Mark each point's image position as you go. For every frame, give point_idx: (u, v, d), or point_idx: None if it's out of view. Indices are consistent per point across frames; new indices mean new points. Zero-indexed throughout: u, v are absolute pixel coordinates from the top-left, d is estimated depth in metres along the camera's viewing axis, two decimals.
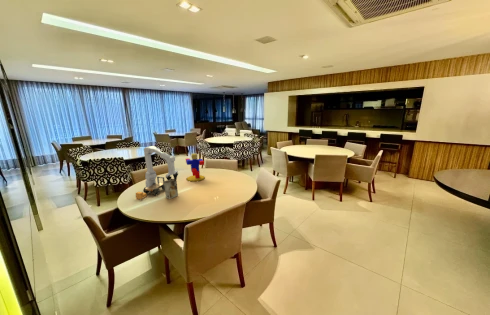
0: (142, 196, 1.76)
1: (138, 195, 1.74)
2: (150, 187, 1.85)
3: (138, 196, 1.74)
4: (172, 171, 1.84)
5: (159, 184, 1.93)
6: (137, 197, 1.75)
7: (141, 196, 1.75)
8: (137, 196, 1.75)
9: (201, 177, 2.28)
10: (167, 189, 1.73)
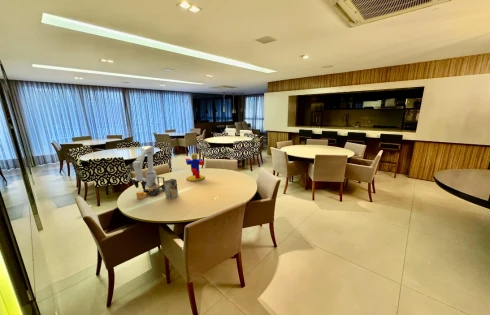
0: (143, 196, 1.76)
1: (139, 195, 1.74)
2: (150, 187, 1.85)
3: (139, 196, 1.75)
4: None
5: (159, 184, 1.93)
6: (138, 197, 1.75)
7: (142, 196, 1.75)
8: (138, 196, 1.75)
9: (201, 177, 2.28)
10: (167, 189, 1.73)
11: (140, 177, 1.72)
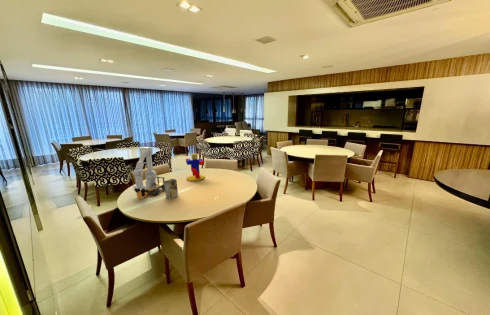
0: None
1: (139, 194, 1.75)
2: (150, 187, 1.85)
3: (139, 195, 1.75)
4: (136, 184, 1.73)
5: (159, 184, 1.93)
6: (138, 196, 1.76)
7: None
8: (138, 195, 1.76)
9: (201, 177, 2.28)
10: (167, 189, 1.73)
11: (140, 185, 1.73)
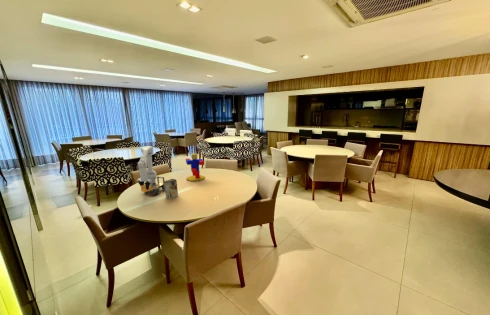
0: None
1: (143, 188, 1.72)
2: None
3: (143, 189, 1.72)
4: (140, 177, 1.70)
5: (159, 184, 1.93)
6: (142, 190, 1.72)
7: (146, 189, 1.72)
8: (142, 189, 1.72)
9: (201, 177, 2.28)
10: (167, 189, 1.73)
11: (145, 178, 1.70)
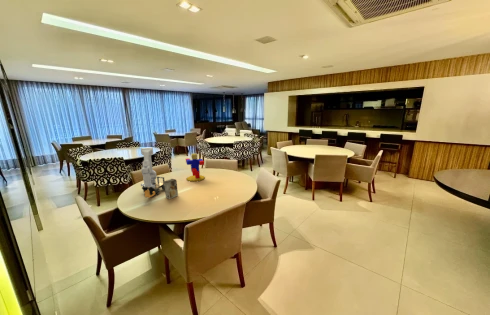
0: None
1: (147, 193, 1.72)
2: None
3: (147, 194, 1.72)
4: (144, 183, 1.70)
5: (159, 184, 1.93)
6: (146, 195, 1.73)
7: None
8: (146, 194, 1.73)
9: (201, 177, 2.28)
10: (167, 189, 1.73)
11: (149, 183, 1.70)
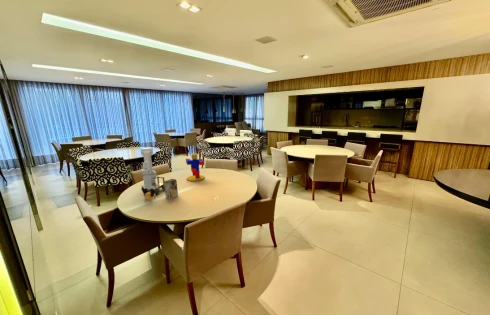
0: (151, 197, 1.75)
1: (147, 196, 1.73)
2: None
3: (147, 197, 1.73)
4: (144, 184, 1.71)
5: (159, 184, 1.93)
6: (146, 198, 1.74)
7: (150, 197, 1.73)
8: (146, 197, 1.73)
9: (201, 177, 2.28)
10: (167, 189, 1.73)
11: (149, 185, 1.71)
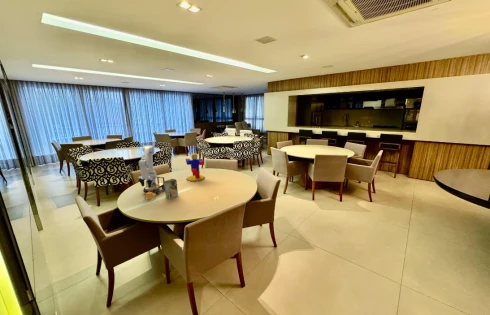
0: (152, 196, 1.75)
1: (148, 195, 1.73)
2: (150, 187, 1.85)
3: (148, 196, 1.73)
4: (141, 175, 1.75)
5: (159, 184, 1.93)
6: (147, 197, 1.74)
7: (151, 196, 1.74)
8: (147, 196, 1.74)
9: (201, 177, 2.28)
10: (167, 189, 1.73)
11: (146, 176, 1.75)
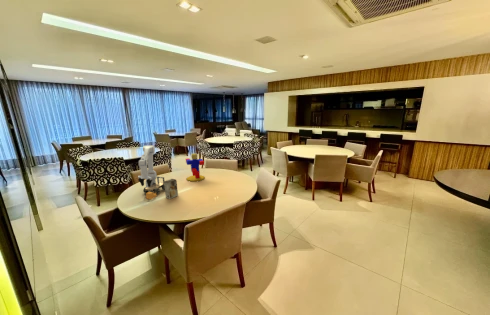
0: (152, 196, 1.76)
1: (148, 195, 1.74)
2: (150, 187, 1.85)
3: (148, 196, 1.74)
4: (141, 175, 1.75)
5: (159, 184, 1.93)
6: (147, 197, 1.75)
7: (151, 196, 1.75)
8: (147, 196, 1.74)
9: (201, 177, 2.28)
10: (167, 189, 1.73)
11: (146, 175, 1.75)
